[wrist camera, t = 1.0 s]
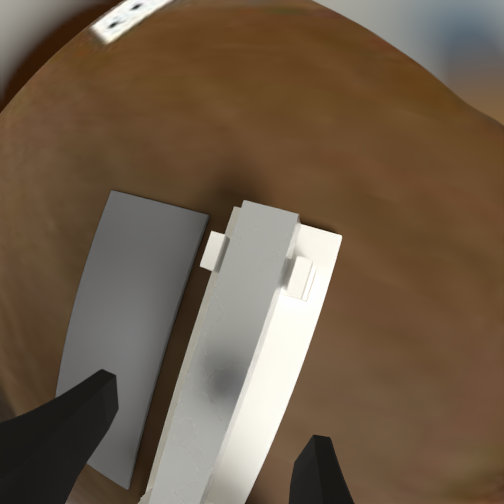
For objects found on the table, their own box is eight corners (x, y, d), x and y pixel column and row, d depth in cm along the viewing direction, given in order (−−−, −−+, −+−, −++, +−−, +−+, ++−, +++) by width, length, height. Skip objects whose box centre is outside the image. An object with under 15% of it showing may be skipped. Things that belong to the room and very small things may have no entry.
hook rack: (225, 540, 19) (203, 583, 13) (145, 504, 21) (109, 537, 15) (341, 239, 22) (350, 211, 16) (237, 210, 24) (210, 176, 18)
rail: (184, 551, 16) (172, 567, 13) (149, 535, 16) (136, 549, 14) (301, 226, 18) (298, 214, 16) (252, 213, 19) (243, 200, 17)
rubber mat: (129, 488, 22) (127, 489, 21) (53, 435, 24) (51, 436, 24) (209, 216, 25) (207, 214, 24) (114, 191, 27) (111, 190, 27)
